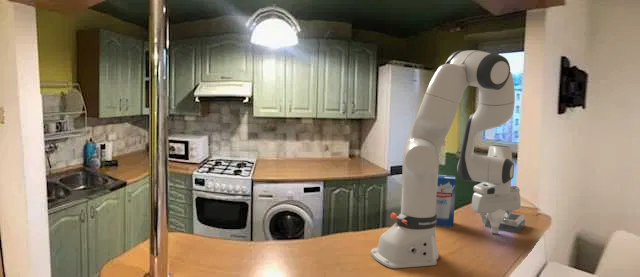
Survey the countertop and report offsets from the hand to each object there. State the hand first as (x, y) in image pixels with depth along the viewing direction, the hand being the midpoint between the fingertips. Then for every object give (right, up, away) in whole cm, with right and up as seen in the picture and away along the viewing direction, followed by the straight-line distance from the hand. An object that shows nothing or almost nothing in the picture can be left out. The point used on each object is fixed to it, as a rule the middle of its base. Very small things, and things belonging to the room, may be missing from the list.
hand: (495, 222), depth 145 cm
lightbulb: (0, -5, +1) cm, 5 cm away
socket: (+8, -4, +9) cm, 13 cm away
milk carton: (-17, -3, +12) cm, 21 cm away
